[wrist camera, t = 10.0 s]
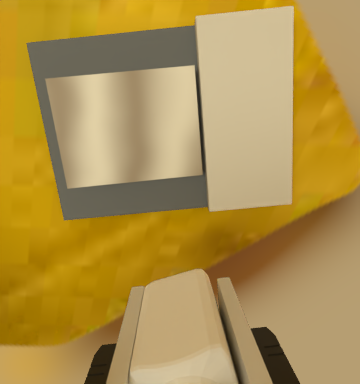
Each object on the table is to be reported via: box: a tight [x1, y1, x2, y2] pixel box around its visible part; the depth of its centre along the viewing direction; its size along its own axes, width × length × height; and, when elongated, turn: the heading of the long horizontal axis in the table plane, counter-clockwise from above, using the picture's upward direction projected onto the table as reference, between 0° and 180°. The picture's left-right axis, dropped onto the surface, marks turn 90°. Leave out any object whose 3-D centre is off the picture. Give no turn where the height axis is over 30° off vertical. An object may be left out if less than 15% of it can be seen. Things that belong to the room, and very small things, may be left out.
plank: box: [45, 65, 203, 189], centre depth 21 cm, size 12×9×2 cm
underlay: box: [27, 6, 294, 220], centre depth 22 cm, size 22×16×3 cm
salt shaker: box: [129, 269, 239, 384], centre depth 11 cm, size 4×4×10 cm
